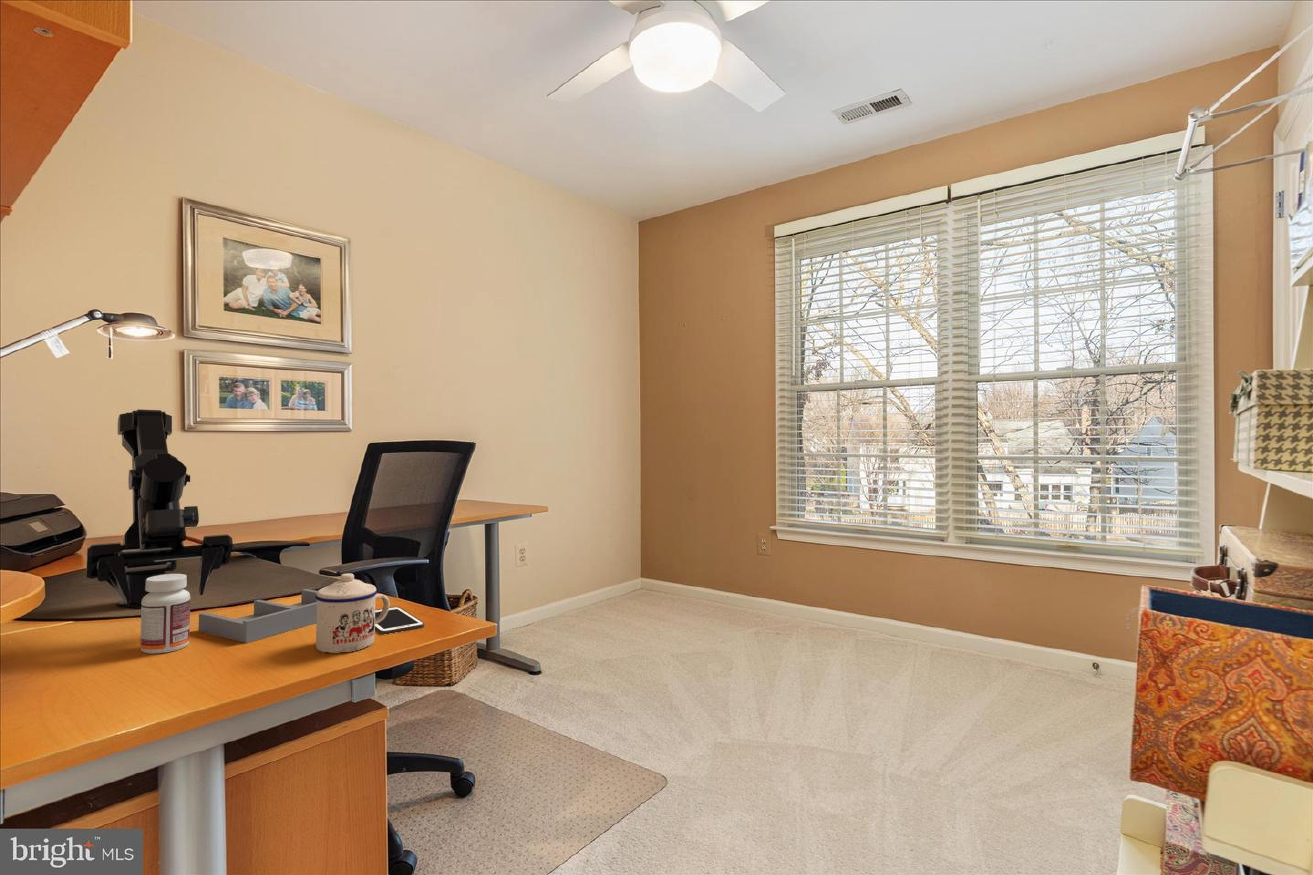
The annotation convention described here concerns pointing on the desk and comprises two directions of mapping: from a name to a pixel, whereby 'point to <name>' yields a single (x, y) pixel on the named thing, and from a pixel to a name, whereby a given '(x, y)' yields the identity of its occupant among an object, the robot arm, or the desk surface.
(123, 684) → the desk surface
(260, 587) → the desk surface
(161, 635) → the pill bottle
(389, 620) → the cell phone
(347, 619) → the teacup with lid
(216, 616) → the tray
